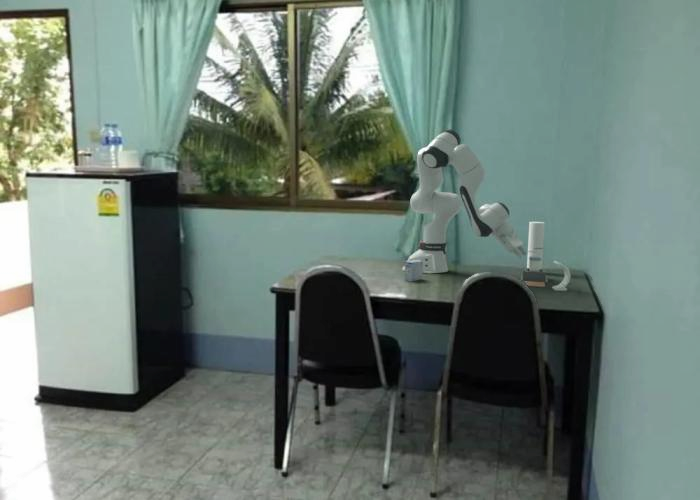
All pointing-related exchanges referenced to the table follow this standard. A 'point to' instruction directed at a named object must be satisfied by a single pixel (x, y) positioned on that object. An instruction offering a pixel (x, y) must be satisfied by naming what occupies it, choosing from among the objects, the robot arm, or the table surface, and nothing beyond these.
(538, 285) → the mat
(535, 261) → the filter cartridge
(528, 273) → the filter housing
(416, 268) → the medicine box
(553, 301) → the table surface
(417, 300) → the table surface
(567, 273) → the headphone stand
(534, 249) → the cylindrical container
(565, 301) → the table surface
